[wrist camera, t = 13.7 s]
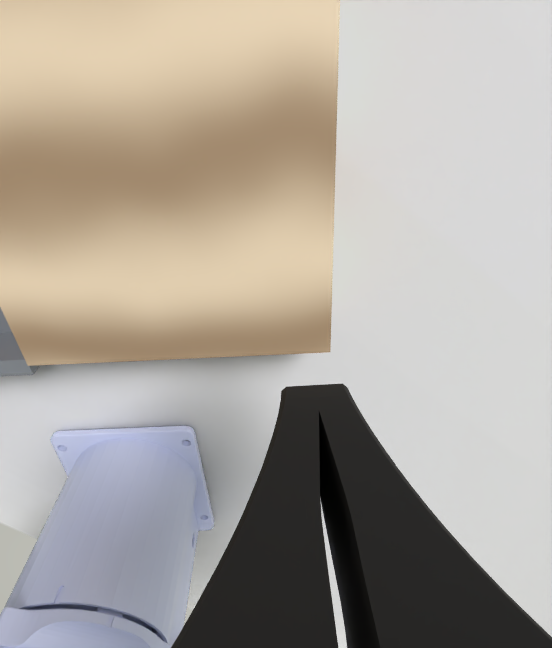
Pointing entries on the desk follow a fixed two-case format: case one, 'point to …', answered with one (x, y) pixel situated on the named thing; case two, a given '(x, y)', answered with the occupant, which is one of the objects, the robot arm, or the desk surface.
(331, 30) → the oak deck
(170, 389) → the desk surface
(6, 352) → the tray
